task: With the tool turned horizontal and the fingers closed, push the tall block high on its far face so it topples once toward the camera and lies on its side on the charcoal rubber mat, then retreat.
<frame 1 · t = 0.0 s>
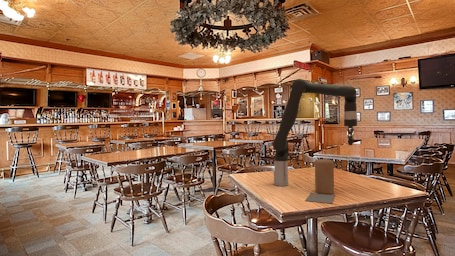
hand: (350, 144, 168), 29 cm above the table, tool pointing down, fingers open, 8 cm apart
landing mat: (320, 198, 154), on the table
block: (324, 192, 167), on the table
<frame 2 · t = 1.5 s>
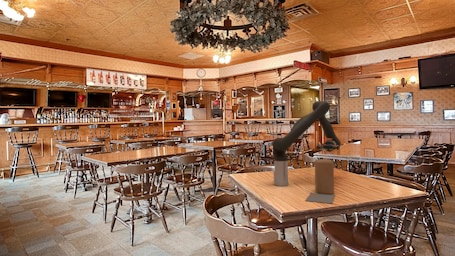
hand: (326, 148, 178), 26 cm above the table, tool horizontal, fingers open, 8 cm apart
nothing on the table moved.
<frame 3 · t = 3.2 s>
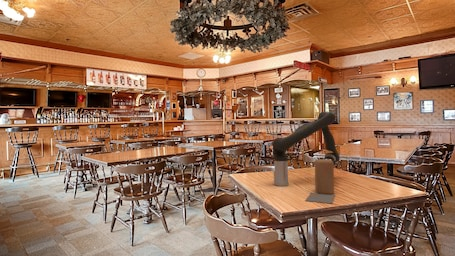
hand: (326, 164, 176), 16 cm above the table, tool horizontal, fingers closed
nothing on the table moved.
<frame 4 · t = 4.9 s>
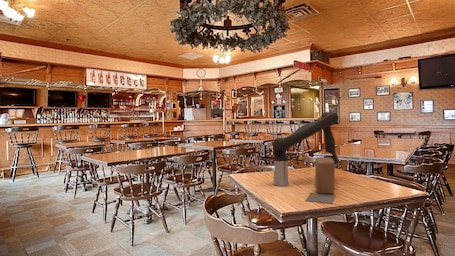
hand: (324, 166, 169), 15 cm above the table, tool horizontal, fingers closed
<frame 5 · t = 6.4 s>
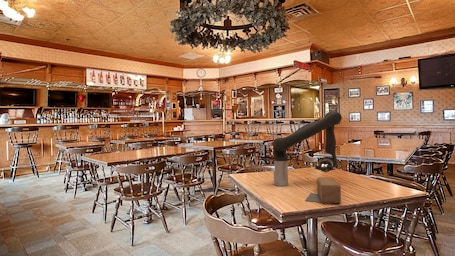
hand: (322, 169, 162), 15 cm above the table, tool horizontal, fingers closed
block: (325, 185, 162), point 5 cm above the table, touching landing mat
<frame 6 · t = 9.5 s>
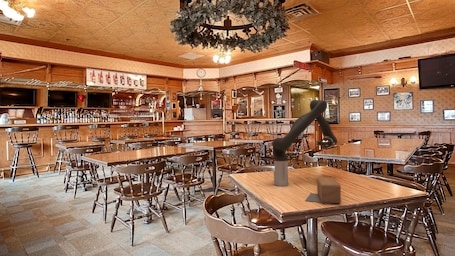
hand: (323, 144, 180), 29 cm above the table, tool horizontal, fingers closed
nothing on the table moved.
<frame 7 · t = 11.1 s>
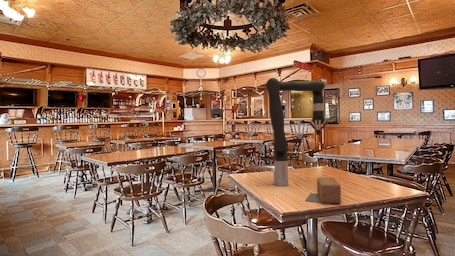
hand: (318, 135, 186), 35 cm above the table, tool pointing down, fingers closed
nothing on the table moved.
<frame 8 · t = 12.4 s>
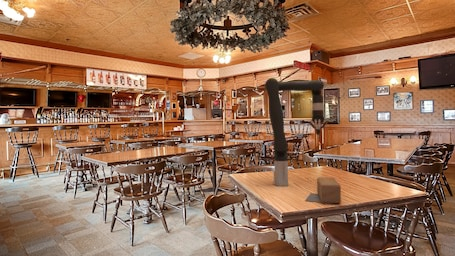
hand: (318, 134, 186), 35 cm above the table, tool pointing down, fingers closed
nothing on the table moved.
at the end: block tilted 90°; block inside the target area (2.9 cm from its centre), point 5.4 cm above the table; block touching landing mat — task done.
